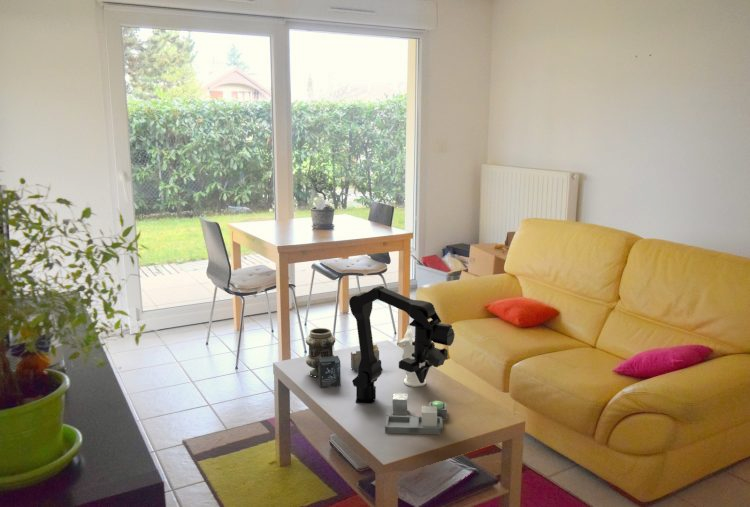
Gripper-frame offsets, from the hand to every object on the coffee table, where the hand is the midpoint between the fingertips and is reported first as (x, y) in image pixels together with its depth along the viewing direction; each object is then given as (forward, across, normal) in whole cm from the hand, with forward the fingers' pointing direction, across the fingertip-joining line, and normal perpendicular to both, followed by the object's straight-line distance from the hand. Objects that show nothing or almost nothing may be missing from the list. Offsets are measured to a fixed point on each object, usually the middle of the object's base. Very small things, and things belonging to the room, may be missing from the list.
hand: (421, 382), depth 225 cm
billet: (+12, -4, +6) cm, 14 cm away
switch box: (+11, +3, -5) cm, 13 cm away
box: (+13, -4, +42) cm, 44 cm away
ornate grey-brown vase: (+13, +2, +53) cm, 55 cm away
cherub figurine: (+12, +18, +20) cm, 29 cm away
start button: (+11, +3, -5) cm, 12 cm away
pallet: (+11, -10, -5) cm, 16 cm away
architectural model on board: (+13, +18, +44) cm, 49 cm away
